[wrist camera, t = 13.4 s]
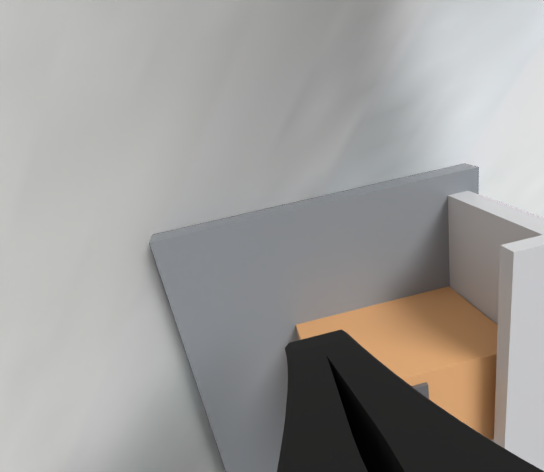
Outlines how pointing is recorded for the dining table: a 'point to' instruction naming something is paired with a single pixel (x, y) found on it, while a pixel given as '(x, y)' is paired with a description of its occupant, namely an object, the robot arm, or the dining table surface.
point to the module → (429, 349)
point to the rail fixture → (352, 295)
